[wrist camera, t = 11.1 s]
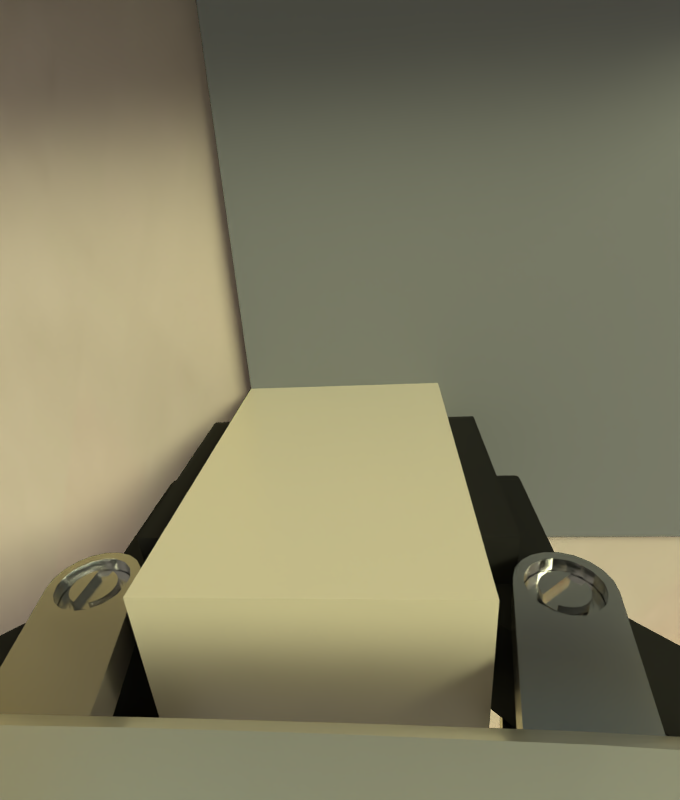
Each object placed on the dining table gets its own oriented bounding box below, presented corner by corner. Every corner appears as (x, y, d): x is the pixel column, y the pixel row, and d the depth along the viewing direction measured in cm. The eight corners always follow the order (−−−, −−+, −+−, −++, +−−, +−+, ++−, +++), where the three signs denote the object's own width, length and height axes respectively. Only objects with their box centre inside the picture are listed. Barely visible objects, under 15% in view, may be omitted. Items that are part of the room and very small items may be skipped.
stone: (251, 388, 11) (122, 597, 6) (437, 382, 11) (499, 600, 5) (272, 537, 13) (189, 815, 7) (435, 536, 12) (480, 829, 7)
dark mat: (199, -4, 9) (194, -10, 8) (921, -80, 8) (941, -89, 7) (274, 530, 13) (272, 537, 13) (738, 527, 12) (745, 536, 12)
